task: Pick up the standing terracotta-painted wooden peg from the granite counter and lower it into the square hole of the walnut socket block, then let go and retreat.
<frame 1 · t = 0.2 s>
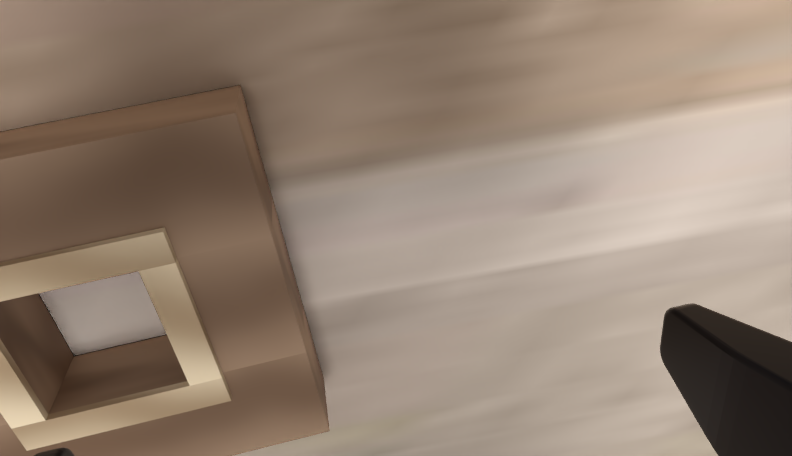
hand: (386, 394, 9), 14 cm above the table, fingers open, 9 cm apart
socket block: (113, 292, 23), on the table
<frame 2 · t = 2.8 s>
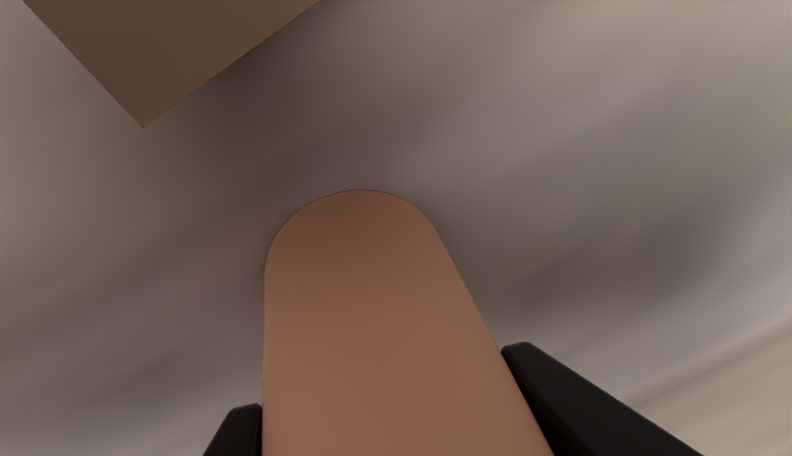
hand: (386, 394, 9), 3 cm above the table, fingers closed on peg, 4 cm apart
peg: (356, 272, 12), on the table, touching gripper
when the fingers open (4 cm above the table, at t = 6.4 s): peg stays where it is, resting in socket block.
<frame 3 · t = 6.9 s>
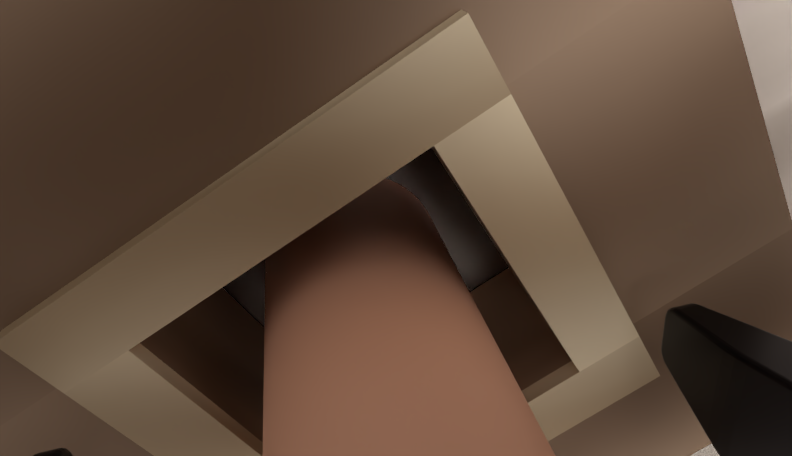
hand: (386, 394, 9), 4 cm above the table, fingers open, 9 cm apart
peg: (352, 252, 12), resting in socket block
socket block: (351, 251, 12), on the table
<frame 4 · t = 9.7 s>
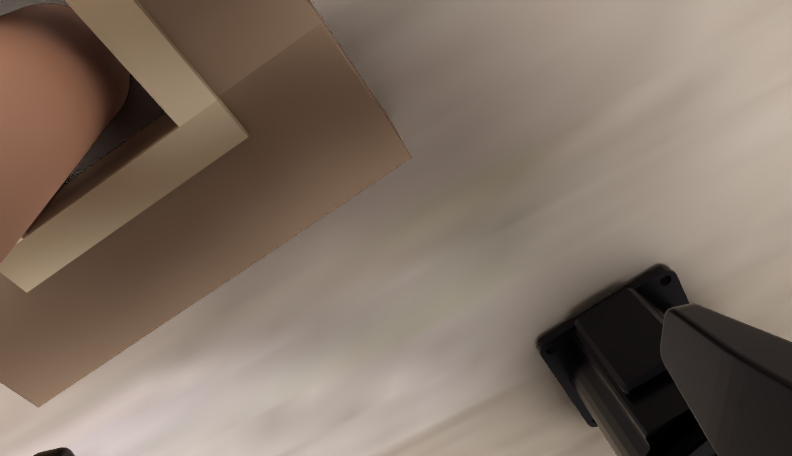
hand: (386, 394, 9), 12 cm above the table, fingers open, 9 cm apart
peg: (62, 69, 17), resting in socket block
socket block: (60, 69, 17), on the table
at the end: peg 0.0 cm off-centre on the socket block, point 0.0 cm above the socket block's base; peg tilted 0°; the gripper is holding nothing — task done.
